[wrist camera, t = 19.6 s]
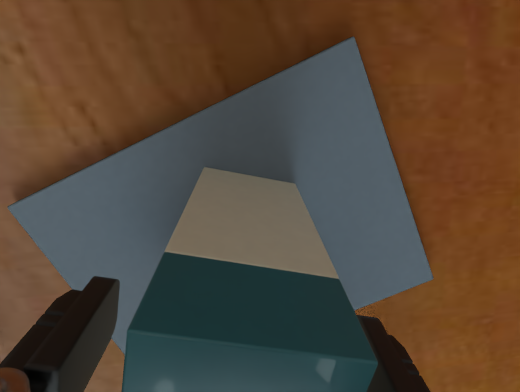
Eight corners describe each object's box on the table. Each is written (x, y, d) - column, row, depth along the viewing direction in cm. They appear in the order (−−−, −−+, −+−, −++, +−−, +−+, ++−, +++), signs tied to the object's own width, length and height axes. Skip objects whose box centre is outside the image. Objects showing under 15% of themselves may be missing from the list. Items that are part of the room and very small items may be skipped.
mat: (349, 37, 16) (354, 35, 16) (427, 272, 21) (434, 279, 20) (15, 202, 18) (6, 207, 18) (155, 380, 23) (152, 390, 23)
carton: (281, 600, 10) (379, 363, 7) (103, 591, 9) (126, 329, 6) (262, 316, 21) (295, 183, 18) (182, 305, 20) (204, 166, 17)
